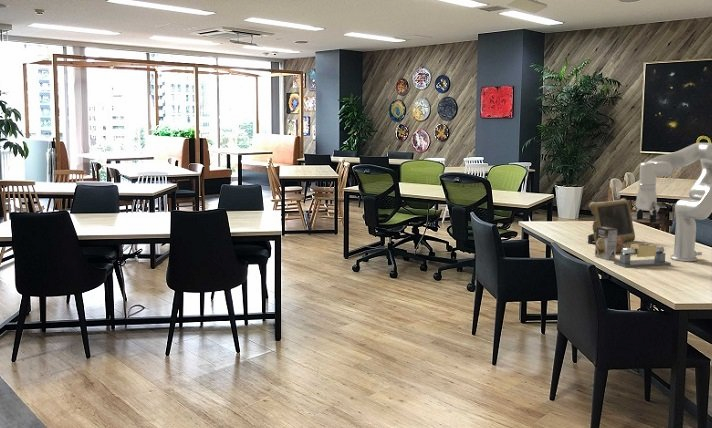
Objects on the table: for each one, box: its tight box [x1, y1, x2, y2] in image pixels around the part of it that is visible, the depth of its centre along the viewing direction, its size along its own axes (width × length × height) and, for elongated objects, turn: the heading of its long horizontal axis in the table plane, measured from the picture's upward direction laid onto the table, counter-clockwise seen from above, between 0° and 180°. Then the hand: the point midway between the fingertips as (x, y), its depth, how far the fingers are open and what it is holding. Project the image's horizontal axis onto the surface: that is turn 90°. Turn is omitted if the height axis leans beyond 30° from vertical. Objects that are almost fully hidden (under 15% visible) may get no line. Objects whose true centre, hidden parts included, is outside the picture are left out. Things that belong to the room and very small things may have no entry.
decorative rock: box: [616, 235, 625, 253], centre depth 362 cm, size 13×11×10 cm
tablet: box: [587, 198, 636, 245], centre depth 389 cm, size 33×14×25 cm, turn 127°
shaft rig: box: [613, 246, 672, 268], centre depth 330 cm, size 26×9×8 cm, turn 103°
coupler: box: [629, 242, 657, 258], centre depth 330 cm, size 10×6×6 cm, turn 103°
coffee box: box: [594, 226, 618, 261], centre depth 345 cm, size 9×6×16 cm
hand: (646, 221), depth 331 cm, fingers open, 9 cm apart
